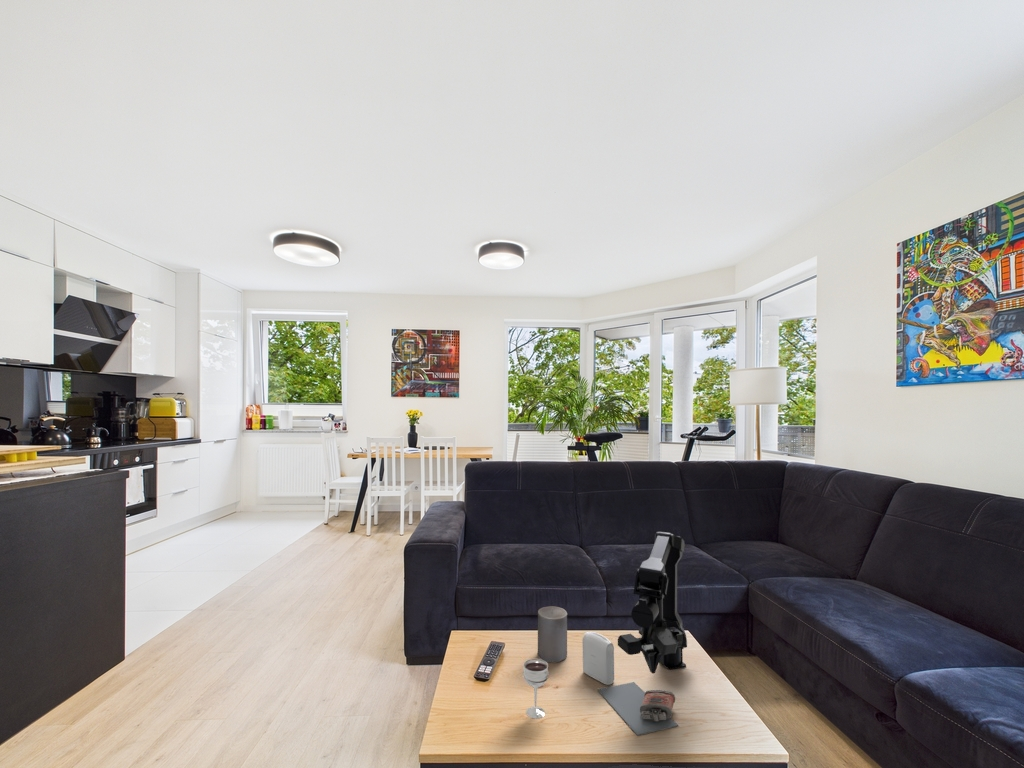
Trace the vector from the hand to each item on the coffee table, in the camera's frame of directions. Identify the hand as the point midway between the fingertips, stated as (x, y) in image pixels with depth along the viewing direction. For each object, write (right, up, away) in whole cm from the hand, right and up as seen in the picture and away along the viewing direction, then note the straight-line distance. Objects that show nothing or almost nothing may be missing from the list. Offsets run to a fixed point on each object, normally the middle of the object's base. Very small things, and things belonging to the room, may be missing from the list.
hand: (652, 672), depth 128 cm
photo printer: (-13, -9, +12) cm, 20 cm away
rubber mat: (-5, -8, -2) cm, 10 cm away
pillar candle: (-25, -10, +25) cm, 37 cm away
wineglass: (-32, -8, -5) cm, 33 cm away
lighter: (+2, -6, -1) cm, 6 cm away
